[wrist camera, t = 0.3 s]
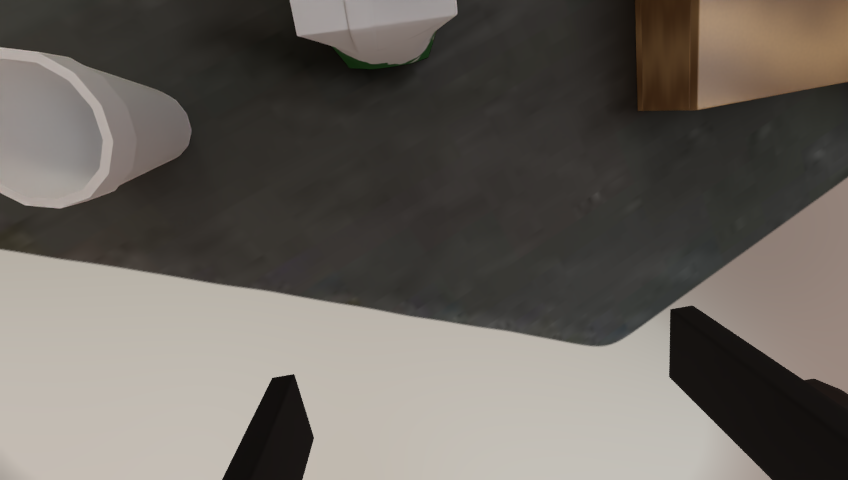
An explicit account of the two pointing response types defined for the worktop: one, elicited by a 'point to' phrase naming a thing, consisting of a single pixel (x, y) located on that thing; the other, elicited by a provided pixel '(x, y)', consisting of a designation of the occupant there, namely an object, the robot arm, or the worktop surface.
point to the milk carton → (373, 28)
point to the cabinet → (736, 50)
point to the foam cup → (79, 129)
